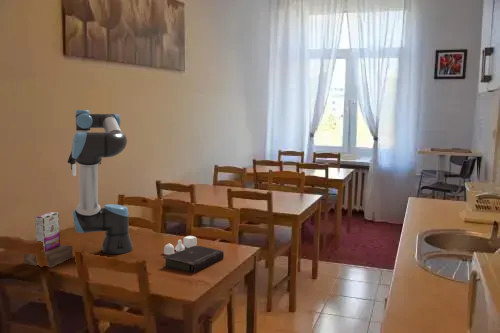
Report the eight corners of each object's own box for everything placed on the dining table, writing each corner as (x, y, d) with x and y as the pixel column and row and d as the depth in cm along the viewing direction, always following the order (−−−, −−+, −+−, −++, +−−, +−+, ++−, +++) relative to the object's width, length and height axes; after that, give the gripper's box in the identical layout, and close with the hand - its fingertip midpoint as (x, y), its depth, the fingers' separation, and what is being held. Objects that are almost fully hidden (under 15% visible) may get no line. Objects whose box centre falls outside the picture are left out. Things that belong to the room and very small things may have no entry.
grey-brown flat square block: (72, 258, 230) (72, 245, 229) (51, 267, 216) (50, 254, 215) (47, 254, 234) (46, 243, 234) (24, 263, 220) (23, 251, 220)
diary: (224, 260, 231) (224, 250, 231) (194, 275, 210) (194, 264, 209) (192, 253, 240) (192, 244, 240) (161, 267, 218) (161, 257, 218)
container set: (189, 245, 255) (189, 235, 254) (196, 247, 252) (196, 237, 251) (161, 253, 239) (161, 243, 238) (168, 255, 236) (168, 245, 235)
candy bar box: (51, 244, 230) (50, 211, 229) (60, 245, 229) (59, 212, 227) (35, 251, 220) (34, 216, 218) (45, 252, 218) (43, 217, 217)
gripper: (107, 138, 261) (107, 176, 263) (69, 137, 268) (70, 174, 271) (98, 139, 254) (99, 178, 256) (60, 137, 261) (61, 176, 264)
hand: (84, 176), depth 263 cm, fingers open, 13 cm apart
